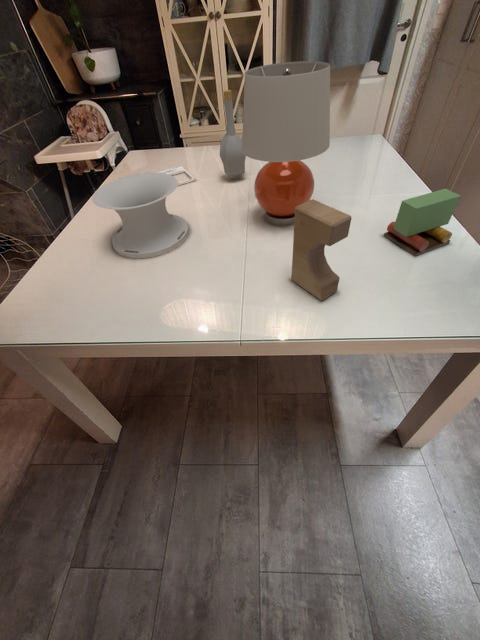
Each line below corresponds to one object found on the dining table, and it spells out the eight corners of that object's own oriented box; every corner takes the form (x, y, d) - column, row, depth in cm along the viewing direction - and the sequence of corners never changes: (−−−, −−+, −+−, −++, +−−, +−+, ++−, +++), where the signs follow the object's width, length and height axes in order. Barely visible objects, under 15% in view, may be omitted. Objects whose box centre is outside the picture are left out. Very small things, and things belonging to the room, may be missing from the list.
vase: (121, 222, 107) (103, 177, 96) (189, 213, 107) (179, 168, 96) (106, 262, 90) (81, 214, 79) (187, 252, 90) (175, 203, 79)
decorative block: (337, 292, 73) (353, 215, 58) (320, 302, 71) (332, 226, 56) (306, 271, 80) (313, 197, 65) (290, 279, 78) (293, 206, 63)
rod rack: (449, 243, 82) (455, 230, 80) (415, 256, 80) (420, 243, 77) (415, 224, 90) (419, 212, 87) (383, 236, 88) (387, 223, 85)
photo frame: (181, 165, 138) (194, 177, 127) (181, 168, 139) (195, 180, 128) (151, 173, 135) (162, 186, 123) (151, 176, 136) (162, 189, 124)
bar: (448, 224, 82) (461, 195, 76) (405, 237, 79) (416, 208, 74) (433, 216, 85) (445, 188, 79) (393, 228, 83) (401, 200, 77)
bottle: (235, 171, 131) (227, 86, 109) (254, 177, 125) (249, 88, 103) (216, 180, 126) (204, 93, 104) (235, 186, 120) (226, 95, 98)
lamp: (286, 193, 112) (290, 58, 84) (336, 216, 98) (362, 61, 69) (232, 216, 103) (217, 73, 75) (279, 245, 89) (282, 81, 61)
